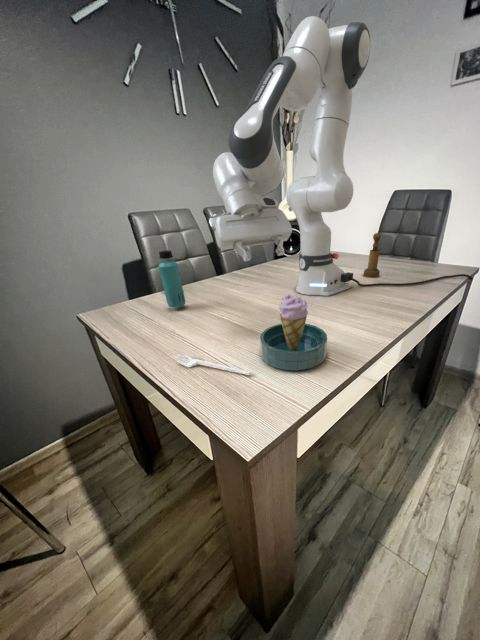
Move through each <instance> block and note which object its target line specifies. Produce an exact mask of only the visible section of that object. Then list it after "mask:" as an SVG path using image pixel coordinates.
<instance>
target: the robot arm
mask: <svg viewBox="0 0 480 640" xmlns="http://www.w3.org/2000/svg"><path fill="white" fill-rule="evenodd" d="M370 54H371V34H370V30H369V28H368V26H367V25H366V23H365V22H361V21H351V22H350V23H349V24H344V25H338V26H333V27H331V28H329V27H328V25H327V24H326V22H325V20H323V19H322V18H321V17H319V16H315V15H311V16H307V17H305V18H303V19H302V20H301V21H300V23H299V24H298V25H297V27H296V28H295V30H294V31H293V33H292V35H291V37H290V39H289V41H288V42H287V44H286V47H285V48H284V51H283V54H282V56H279V57H277V58H276V59H274V60H273V61H272V63H271V64H270V65H269V67H268V68H267V70H266V71H265V73H264V74H263V76H262V79H261V80H260V82H259V84H258V86H257V87H256V89H255V91H254V93H253V95H252V97H251V98H250V100H249V102H248V104H247V105H246V106H245V109H244V110H243V112H242V113H241V114H240V115H239V116H238V117H237V118H236V120H235V121H234V123H233V125H232V126H231V129H230V131H229V135H228V147H229V150H230V152H229V151H227V152H223V153H220V154H219V155H218V156H217V158H215V160H214V162H213V166H212V178H213V181H214V185H215V188H216V191H217V193H218V196H219V197H220V199H221V201H222V202H223V204H224V205H223V206H224V209H225V212H224V213H214V214H212V216H210V217H209V219H208V223H209V225H210V228H211V229H212V230H213V233H214V237H215V241H216V245H217V247H218V248H219V249H220V250H222V251H227V250H234V252H235V253H236V254H238V255H239V256H240V257H241V258H242V261H243V262H249V261H251V259H252V254H251V253H250V250H246V249H244V248H247V247H254V246H260V245H261V246H262V245H267V244H275V246H277V247H276V249H275V250H274V252H275V254H276V256H277V257H279V256H280V257H281V256H284V254H285V248H284V242H287V241H288V240H289V238H290V237H291V235H292V232H293V227H292V225H291V223H290V221H289V219H288V217H287V216H286V214H285V212H284V211H283V210H282V209H280V208H279V206H280V203H279V201H278V200H277V199H275V198H270V197H266V195H268V194H270V193H273V192H275V190H277V188H279V186H280V185H281V184H282V182H283V179H284V176H285V169H284V167H283V163H282V160H281V159H282V158H281V155H280V154H279V150H278V147H277V143H276V140H275V135H274V125H273V123H274V118H275V116H276V115H277V112H278V110H279V109H280V107H281V108H282V109H285V110H287V111H288V112H289V111H290V112H299V111H300V112H301V111H302V110H305V109H306V108H307V107H309V106H310V104H311V103H312V101H313V99H314V98H315V96H316V94H317V91H318V89H320V96H319V99H318V102H317V107H316V109H315V115H314V120H313V124H312V131H311V137H310V141H309V147H308V148H309V149H308V151H309V152H308V153H309V156H310V157H311V159H312V160H313V161H314V162H315V163H316V173H315V175H311V176H302V177H300V178H298V179H295V180H293V181H292V182H290V183H289V185H288V186H287V189H286V195H285V198H286V203H287V205H288V207H289V208H290V209H291V211H292V212H293V214H294V216H295V218H296V220H297V224H298V228H299V235H300V236H299V239H300V240H299V241H300V243H299V245H300V253H299V254H298V267H299V271H298V278H297V282H296V283H297V284H296V287H295V292H297V293H299V294H302V295H306V296H307V295H308V296H324V297H325V296H326V297H329V296H332V295H334V294H337V293H340V292H343V291H346V290H348V289H351V288H352V285H351V284H350V283H349V282H351V281H352V282H355V283H356V284H357V286H359V287H362V288H363V287H365V288H366V287H378V286H380V287H381V286H382V287H383V286H386V287H387V286H391V287H398V286H399V287H400V286H401V287H403V286H415V285H421V284H426V283H430V282H434V281H439V280H442V279H450V278H458V277H465V278H468V279H469V280H473V277H472V276H471V275H469V274H466V273H458V274H453V275H443V276H439V277H434V278H430V279H426V280H421V281H415V282H404V283H392V282H391V283H390V282H387V283H385V282H381V283H380V282H379V283H378V282H377V283H368V284H367V283H366V284H363V283H360V281H359V280H358V279H356V278H354V272H348V271H347V272H345V271H344V270H343V269H342V268H340V266H338V265H337V264H336V263H335V262H334V260H338V259H339V258H340V257H339V253H336V252H333V253H332V252H331V246H332V245H331V244H332V230H331V228H330V226H329V225H327V224H326V222H325V221H324V218H323V214H322V213H334V212H338V211H341V210H342V211H343V210H345V209H346V208H347V207H349V205H350V203H351V202H352V200H353V196H354V183H353V180H352V179H351V178H350V176H349V175H348V174H347V171H346V169H345V164H344V163H345V162H344V152H345V146H346V141H347V135H348V132H349V126H350V121H351V120H350V119H351V114H352V104H353V89H354V88H355V87H356V85H357V84H358V81H359V79H360V78H361V77H362V75H363V73H364V72H365V70H366V67H367V65H368V63H369V59H370Z"/></svg>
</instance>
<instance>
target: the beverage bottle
mask: <svg viewBox="0 0 480 640" xmlns="http://www.w3.org/2000/svg"><path fill="white" fill-rule="evenodd" d="M158 255H159V259H161V260H163V261H161V262H160V263H159V264H158V269H159V274H160V277H161V283H162V286H163V287H162V288H163V291H164V297H165V301H166V304H167V306H168V307H169V308H180V307H183V306H185V305H186V298H185V292H184V288H183V284H182V278H181V273H180V270H179V264H178V262H176V261H175V260H172V258H173V252H172V250H170V249H169V250H167V249H166V250H160V251H159V252H158ZM165 259H171V260H165Z"/></svg>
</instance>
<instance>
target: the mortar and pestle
mask: <svg viewBox="0 0 480 640" xmlns="http://www.w3.org/2000/svg"><path fill="white" fill-rule="evenodd" d="M381 237H382V235H381V233H380V232H375V233H374V234H373V235H372V238H373V241H374V242H373V244H372V249H370V250H369V257H368V263H367V268H366V269H364V270H363V277H364V278H370V279H374V278H375V279H376V278H379V277H380V272H381V271H380V270H379V268H378V264H379V258H380V251H381V250H380V249H378V247H379V241H380V239H381Z"/></svg>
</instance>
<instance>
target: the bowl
mask: <svg viewBox="0 0 480 640" xmlns="http://www.w3.org/2000/svg"><path fill="white" fill-rule="evenodd" d="M259 342H260V343H259V347H260V356H261V358H262V360H263V361H264V362H265V363H266V364H267V365H269V366H271V367H273V368H275V369H280V370H283V371H284V370H285V371H301V370H302V371H303V370H309V369H311V368H315V367H317V366H319V365H321V363H323V362H324V361H325V359H326V358H327V349H328V334H327V333H326V331H324V330H323V329H322V328H321V327H319V326H316V325H314V324H310V323H305V326H304V330H303V333H302V337H301V340H300V343H299V346H298V349H297V351H289V348H288V345H287V342H286V339H285V335H284V332H283V328H282V323H277V324H274V325H271V326H269V327H267V328H265V329H264V330H263V331H262V332H261V333H260V337H259Z"/></svg>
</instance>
